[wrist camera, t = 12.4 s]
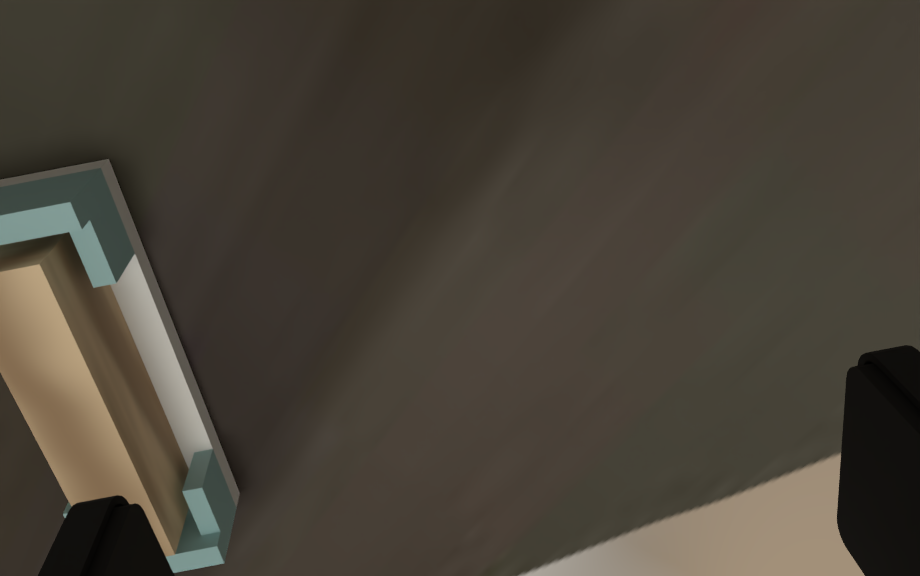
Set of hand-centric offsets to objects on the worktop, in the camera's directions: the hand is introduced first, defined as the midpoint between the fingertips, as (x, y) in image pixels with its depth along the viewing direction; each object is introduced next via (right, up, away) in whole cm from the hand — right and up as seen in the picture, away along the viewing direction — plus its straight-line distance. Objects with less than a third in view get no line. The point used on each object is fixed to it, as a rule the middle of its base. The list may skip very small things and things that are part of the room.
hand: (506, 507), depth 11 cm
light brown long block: (-18, -1, +30) cm, 35 cm away
